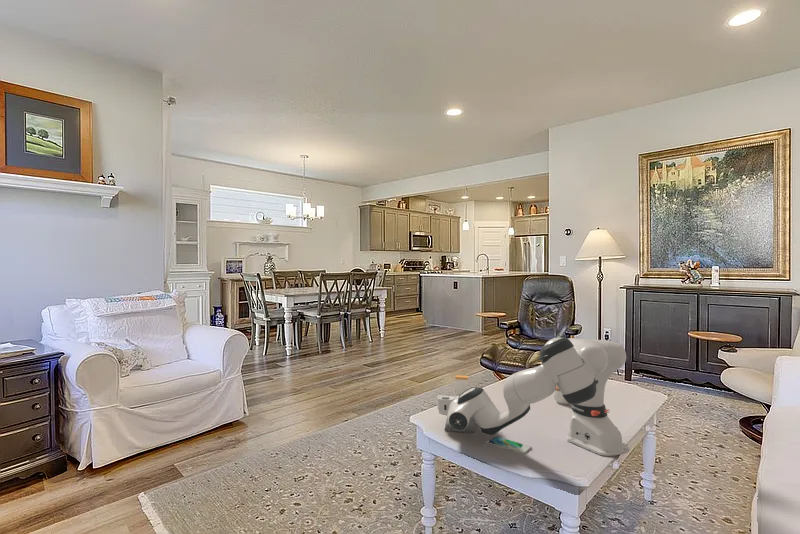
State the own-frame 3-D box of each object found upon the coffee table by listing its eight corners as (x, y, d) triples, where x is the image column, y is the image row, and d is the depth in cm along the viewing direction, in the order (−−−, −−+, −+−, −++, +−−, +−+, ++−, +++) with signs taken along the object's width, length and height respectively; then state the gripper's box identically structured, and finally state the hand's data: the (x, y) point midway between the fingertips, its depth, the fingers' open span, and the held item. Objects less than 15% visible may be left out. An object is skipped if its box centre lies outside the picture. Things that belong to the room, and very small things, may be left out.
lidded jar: (570, 399, 217) (571, 380, 217) (577, 406, 207) (577, 386, 207) (548, 398, 219) (549, 379, 218) (554, 405, 208) (554, 385, 208)
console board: (474, 433, 173) (474, 430, 173) (444, 430, 175) (444, 427, 175) (475, 415, 193) (475, 413, 193) (448, 413, 195) (448, 411, 195)
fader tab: (467, 416, 188) (467, 377, 188) (455, 415, 189) (455, 377, 189) (467, 413, 191) (467, 375, 191) (455, 413, 192) (456, 375, 192)
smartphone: (524, 453, 154) (487, 442, 164) (524, 456, 154) (486, 444, 164) (532, 446, 160) (496, 435, 169) (532, 449, 160) (496, 438, 169)
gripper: (486, 401, 173) (485, 391, 187) (435, 398, 177) (438, 388, 190) (485, 417, 173) (485, 406, 187) (435, 413, 177) (438, 402, 190)
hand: (461, 397), depth 188 cm, fingers closed, pressing on fader tab
